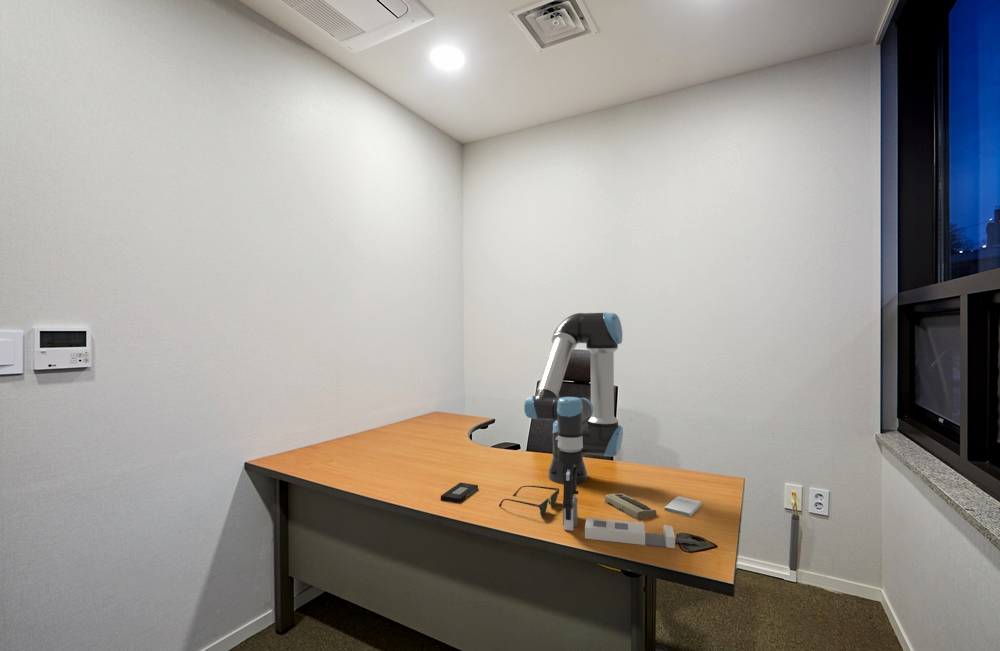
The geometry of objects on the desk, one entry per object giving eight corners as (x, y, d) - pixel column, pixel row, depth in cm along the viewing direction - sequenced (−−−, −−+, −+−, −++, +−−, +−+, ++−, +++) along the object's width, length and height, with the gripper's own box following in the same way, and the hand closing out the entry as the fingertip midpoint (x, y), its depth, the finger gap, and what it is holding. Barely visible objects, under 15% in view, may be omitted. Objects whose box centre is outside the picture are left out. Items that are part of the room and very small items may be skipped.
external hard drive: (664, 511, 149) (676, 500, 158) (690, 518, 144) (701, 506, 153) (664, 506, 149) (676, 495, 158) (690, 513, 144) (701, 501, 153)
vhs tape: (478, 490, 168) (478, 485, 168) (459, 504, 155) (459, 498, 155) (460, 487, 171) (460, 482, 171) (440, 501, 158) (440, 495, 158)
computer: (657, 516, 145) (656, 506, 145) (637, 521, 141) (637, 511, 141) (622, 499, 159) (622, 490, 159) (604, 503, 155) (604, 494, 155)
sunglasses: (516, 493, 165) (516, 480, 164) (560, 502, 156) (560, 488, 156) (493, 510, 150) (493, 495, 150) (541, 521, 142) (541, 505, 142)
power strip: (586, 527, 136) (586, 517, 136) (694, 538, 129) (694, 527, 129) (584, 538, 130) (584, 527, 130) (699, 551, 122) (699, 539, 122)
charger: (564, 519, 142) (564, 496, 142) (577, 521, 141) (577, 497, 141) (562, 525, 138) (562, 501, 138) (576, 526, 137) (576, 502, 137)
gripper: (561, 439, 151) (562, 506, 151) (552, 458, 130) (553, 537, 130) (584, 440, 149) (585, 509, 149) (579, 460, 128) (579, 540, 128)
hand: (570, 522), depth 139 cm, fingers open, 9 cm apart
